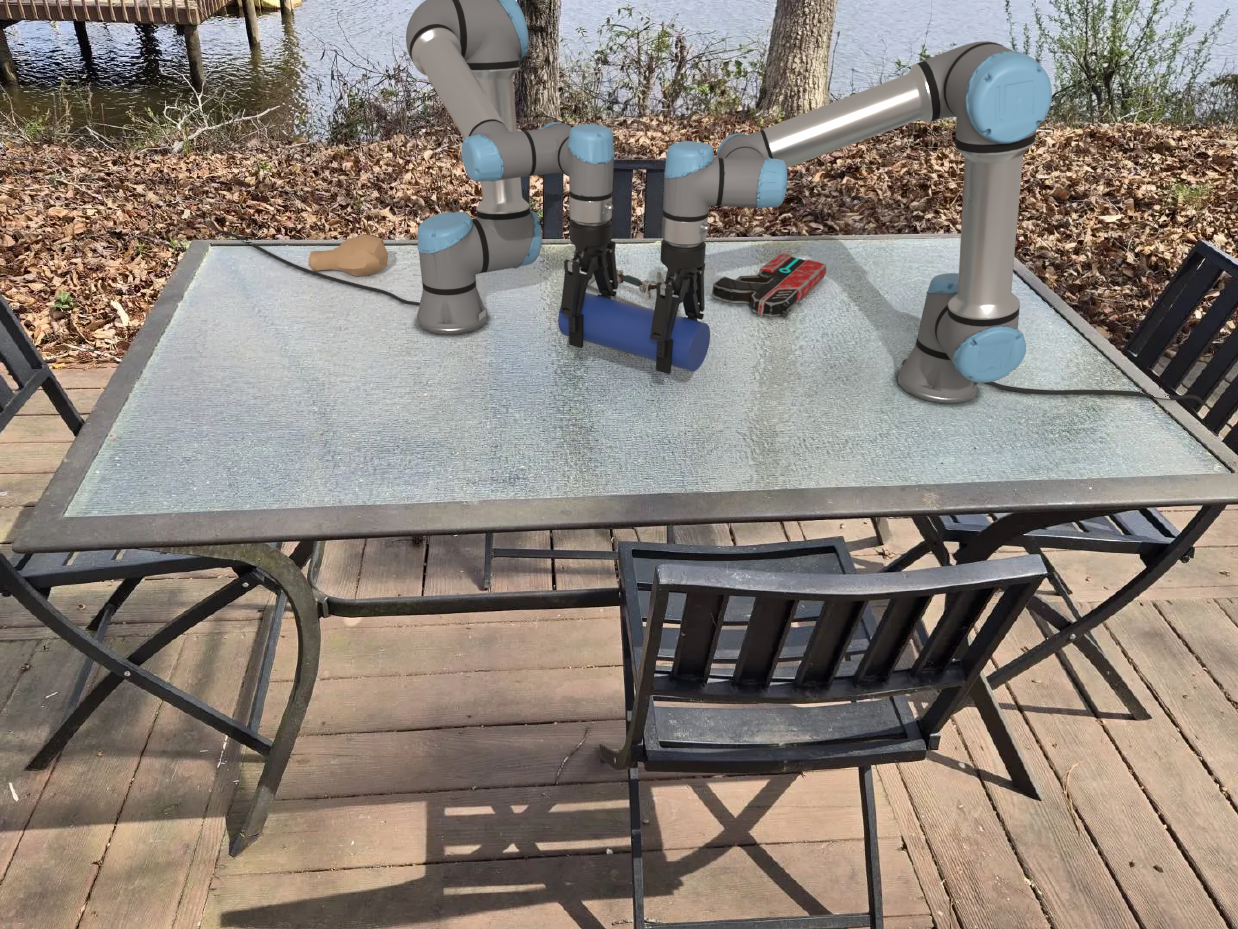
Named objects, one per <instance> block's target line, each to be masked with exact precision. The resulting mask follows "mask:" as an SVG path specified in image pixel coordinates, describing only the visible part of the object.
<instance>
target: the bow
mask: <svg viewBox="0 0 1238 929" xmlns="http://www.w3.org/2000/svg"><path fill="white" fill-rule="evenodd" d="M574 253H575V251H573V254H574ZM616 270H617V279H618V285H621V284H624V283H628V284H630V285H633V286H636V287H638V290H639V292H640V293H642V294H645V295H644V296H645V298H644V299H645V300H651V299H652V293H651V291H653V290H656V286H657V283H658V282H660V283H664V282H665V279H664V278H663V274H662V271H657V272H656V278H655V279H656V281H655V280H651V281H650V280H649V278H646V279H645V280H641V279H640V278H637V277H635V276H632V275H629V274H626V275H625V274H624V270H623V269H620V270H618V269H617V268H616ZM595 282H596V280H595V277H594V274H593V275H592V279H590V280H589V281H588V286H587V288H588V287H589V288H591V289H593V290H596V291H598V292H599V290H598V288H596V287H593V286H590V285H591V284H594V283H595ZM614 298H617V299H618V300H620V301H623V302H625V303H629V304H633V305H637V306H641V307H643V306H642V305H638V304H636V303H634V302H631V301H628V300H626V299H623V298H621V297H618V296H617V295H616V296H615V297H614ZM677 316H680V317H683V316H682V315H681V312H680V309H679V308H678V312H677Z"/></svg>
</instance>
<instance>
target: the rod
mask: <svg viewBox="0 0 1238 929" xmlns="http://www.w3.org/2000/svg"><path fill="white" fill-rule="evenodd" d="M637 305H638V304H636V305H634V304H632V303H629V302H626V301H622V300H617V299H613V298H611V299H609V298H606V297H602V296H598V294H593V293H590V292H586V294H585V298H584V302H583V306H582V310H581V314H583V315H584V328H583V329H584V331H583V342H586V343H590V344H592V345H593V344H594V345H597V346H600V347H604V348H607V349H610V350H614V351H618V352H621V353H624V354H628V355H632V356H635V357H639V358H642V359H645V360H650V361H653V362H656V355H657V340H654V339H651V338H650V336H651V329H652V322H653V316H654V309H652V308H649V307H644V306H642V305H639V306H637ZM641 306H642V307H641ZM557 315H558V316H557V323H558V328H559V332H560V333H561V335H563V336H565V337H568V338H569V327H568V315H565V314H561V305H560V306H559V310H558V314H557ZM684 317H685V316H684ZM684 317H683V316H682V317H680V316H676V320H675V323H674V327H673V331H672V335H671V339H673V350H672V366H671V367H675V368H677V369H682V370H685V371H688V372H693V373H694V372H697V371H698V370H699V369H700V368H701V366H702V365H703V363H704V362H705V359H706V357H707V354H708V350H709V348H710V342H711V330H710V326H709V325H708V323H706V322H703V321H699V320H698V321H695V320H691V319H687V318H684Z"/></svg>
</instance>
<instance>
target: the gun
mask: <svg viewBox="0 0 1238 929" xmlns="http://www.w3.org/2000/svg"><path fill="white" fill-rule="evenodd" d="M826 273H827V264H826V263H823V262H820V261H816V260H812V259H802V258H799V257H795V256H793V255H792V254H791V253H784V252H780V253H778V254H777V255H775V256H774V257H773V258H771V259H770V260H768V261H767V262H766V263H765V264H763V265H762V266H761V267H760V269H759V271H758V273H757V274H756V275H753V274H752V275H751V274H750V275H740V276H738V277H737V278H735V279H734V278H731V277H727V276H722V277H720V279H717V281H715V282H713V283H712V291H711V297H713V298H714V299H716V300H719V301H723V302H727V303H730V304H750V305H749V308H750V310H751V312H753V313H755V314H757V315H758V316H760V317H761V316H765V317H770V318H771V317H777V316H780V317H784V318H787V317H788V315H789V311H788V310H790V309H791V308H792V307H793V306H794V305H795V304H798V303H799V302H801V301H802V300H803V299H804V298H805V297H807V296H808V295H809V294H810V293H811V292H812V291H813V290H814V289H815V287H817V285H818V284H820V283H821V282H822V280H823V279H824V278H825V276H826Z"/></svg>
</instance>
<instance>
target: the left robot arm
mask: <svg viewBox="0 0 1238 929" xmlns="http://www.w3.org/2000/svg"><path fill="white" fill-rule="evenodd" d="M528 30H529V29H528V25H527V21H526V18H525V15H524V12H523V11H522V8H521V7H520V5H519V3H518V2H517V0H424V1H423V2H421V3H420V4H419V5H418V6H417V7H416V8H415V9H414V11H413V13H412V14H411V15H410V18H409V20H408V23H407V25H406V31H405V45H406V50H407V53H408V56H409V59H410V60H411V62H412V64H413V65H414V67H415V68H416V70H417V71H418V72H419V73H420V74H422V75H424V76H425V77H427V78H428V80H429V82H430V84H431V85H432V86H433V89H434V91H435V92H436V94H437V96H438V97H439V99H440V101H441V103H442V105H443V106H444V107H445V110H446V111H447V112H448V115H449V116H450V118H451V120H452V121H453V123H454V124H455V127H456V128H457V130H458V131H459V133H460V135H461V137H462V138H463V141H462V144H461V160H462V165H463V166H464V171H465V173H466V175H467V177H468V178H469V179H470V180H472V181H473V182H480V189H481V201H480V202H479V204H478V205H477V206H476V208H475V209H476V211H475V212H476V217H475V218H472V217H471V216H470V214H468V213H466V212H463V211H455V212H453V211H446V212H442V213H441V212H440V213H438V214H435V215H432V216H429V217H427V218H426V219H424V220H423V221H422V222H421V223H420V224H419V226H418V227H417V247H416V248H417V250H418V258H419V267H420V275H421V276H420V277H421V284H422V292H421V297H420V302H419V301H413V300H407V299H404V298H402V297H399V296H398V295H396V294H394V293H392V292H389V291H388V290H384V289H381V288H376V287H372V286H367V285H363V284H360V283H355V282H352V281H348V280H344V279H341V278H337V277H333V276H330V275H326V274H323V273H320V272H318V271H313V270H312V269H308V268H305V267H303V266H301V265H298V264H296V263H294V262H291V261H288V260H286V259H284V258H282V257H280V256H278V255H276V254H274V253H272V252H270V251H268V250H267V249H265V248H262V247H261V246H259V245H257V244H255V243H254V244H253V245H250V246H251V247H253V248H254V249H256V250H258V251H260V252H261V253H264V254H265V255H267V256H269V257H271V258H272V259H275V260H277V261H279V262H281V263H283V264H285V265H288V266H290V267H292V268H294V269H297V270H300V271H302V272H305V273H307V274H310V275H313V276H316V277H319V278H323V279H326V280H329V281H333V282H337V283H340V284H343V285H347V286H351V287H354V288H359V289H363V290H366V291H367V290H368V291H371V292H375V293H379V294H383V295H385V296H388V297H390V298H393V299H394V300H396V301H398V302H400V303H403V304H406V305H411V306H417V307H418V310H417V315H416V318H417V325H418V326H419V328H420V329H421V330H423V331H424V332H427V333H430V334H433V335H440V336H459V335H465V334H469V333H473V332H476V331H477V330H480V329H481V328H483V327H484V326H485V325H486V323H487V320H488V316H487V309H486V306H485V304H484V302H483V299H482V298H481V295H480V293H479V291H478V288H477V278H476V277H477V275H479V274H485V273H491V272H497V271H498V272H499V271H502V270H503V271H504V270H509V269H519V268H521V267H525V266H530V265H532V264H534V263H535V261H536V260H537V259H538V257H539V255H540V254H541V249H542V245H543V244H542V243H543V229H542V225H541V222H540V218H539V216H538V214H537V213H536V212H535V211H533V210H531V205H530V203H529V202H527V200H525V199H524V198H523V192H522V191H523V190H522V178H524V177H534V176H542V175H550V174H559V173H562V174H563V175H565V176H567V177H568V185H569V186H568V200H569V201H568V217H569V218H570V220H569V241H570V242H571V243H572V244H573V246H574V248H575V249H574V252H575V253H574V252H573V258H571V259H567V258H566V259H565V260H564V261H563V267H564V276H563V286H562V294H561V304H560V306H561V314H565V315H568V327H569V337H568V345H569V346H572V347H574V348H578V349H583V348H584V341H583V331H584V329H583V328H584V315H583V314H581V310H582V306H583V302H584V298H585V294H586V293H587V289H588V286H589V285H588V281H589V280H590V279H592V275H593V274H594V277H595V283H596V286H597V289H598V290H599V291H598V290H597V291H598V292H599V293H598V294H597V295H598V296H602V297H606V298H609V299H612V297H613V298H616V297H617V293H618V292H617V289H618V288H619V284H618V279H617V270H618V269H617V262H616V246H617V243H616V241H614V240H612V239H613V222H612V220H611V219H613V218H612V217H613V210H614V205H613V189H614V165H615V164H614V162H615V147H614V133H613V131H612V130H611V129H610V127H608V126H606V125H599V124H596V123H595V124H594V123H584V124H578V125H574V126H573V127H572V126H571V125H568V124H566V123H563V122H558V121H551V122H548V123H546V124H544V125H543V126H541V127H540V128H537V129H529V130H518V128H517V127H518V126H517V125H518V124H517V115H516V101H515V88H514V77H515V75H516V74H517V72H518V71H519V69H520V59H523V58H524V57H525V56H526V55H527V54H528V51H529V48H528V46H529V44H530V42H529V39H530V38H529V31H528ZM221 234H223V235H228V236H230V237H232V238H235V239H238V240H241V241H242V240H246V241H249V240H248V239H246V238H245V237H243V236H240V235H238V234H235V233H233V232H230V231H227V230H218V231H216V232H215V234H214V236H215V237H217V236H219V235H221ZM245 243H246V244H247V243H253V242H252V241H250V242H245ZM616 269H617V270H616ZM615 296H616V297H615Z"/></svg>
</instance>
